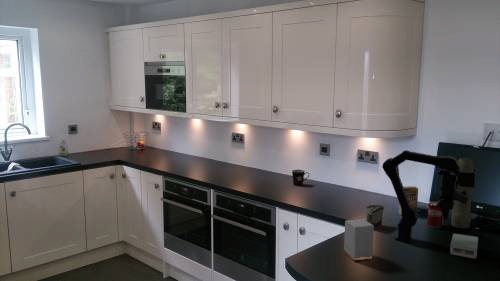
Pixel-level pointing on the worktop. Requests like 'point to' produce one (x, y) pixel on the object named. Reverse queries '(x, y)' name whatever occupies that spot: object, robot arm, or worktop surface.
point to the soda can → (434, 216)
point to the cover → (464, 242)
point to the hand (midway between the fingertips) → (445, 219)
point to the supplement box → (358, 238)
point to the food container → (374, 215)
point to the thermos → (460, 211)
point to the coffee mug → (298, 177)
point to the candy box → (411, 197)
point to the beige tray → (463, 252)
